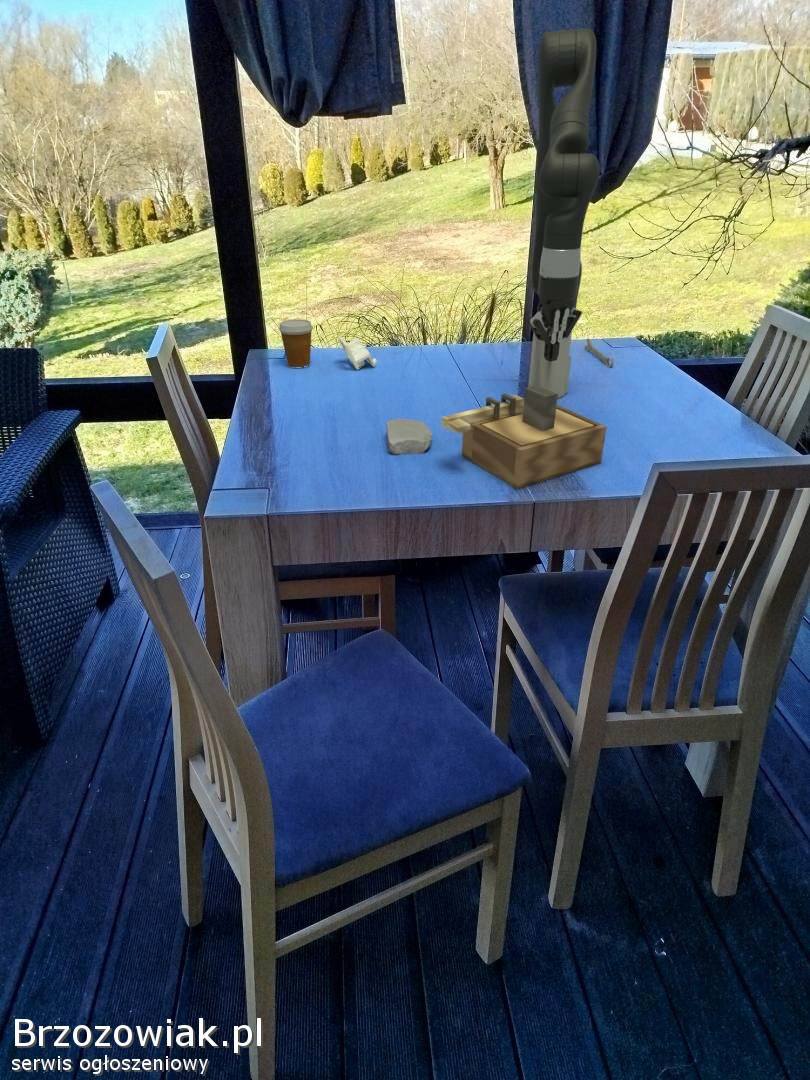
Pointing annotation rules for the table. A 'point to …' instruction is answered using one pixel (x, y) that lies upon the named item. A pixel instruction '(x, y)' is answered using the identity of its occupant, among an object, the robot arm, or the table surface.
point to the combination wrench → (599, 354)
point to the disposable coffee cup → (296, 341)
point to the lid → (537, 420)
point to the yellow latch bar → (478, 415)
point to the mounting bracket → (356, 352)
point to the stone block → (408, 436)
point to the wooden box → (532, 450)
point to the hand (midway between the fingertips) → (550, 360)
